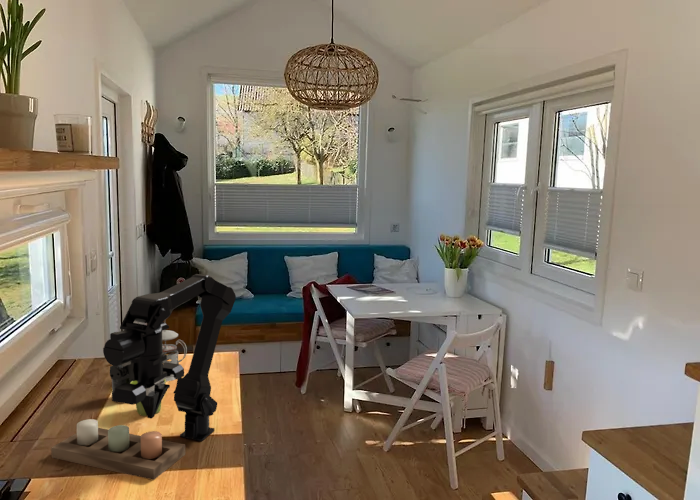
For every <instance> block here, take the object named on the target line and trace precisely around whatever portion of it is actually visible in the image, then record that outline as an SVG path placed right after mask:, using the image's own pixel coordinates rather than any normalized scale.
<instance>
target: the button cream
mask: <svg viewBox="0 0 700 500" xmlns="http://www.w3.org/2000/svg"><path fill="white" fill-rule="evenodd" d="M98 422H99V421H98V419H93V418H89V419H84V420H80V421H79V422H77V423H76V433H77V443H78V444H79V445H81V446H90V445H91V446H92V445H94V444H95V443H96V442H97V441H98V428H99V423H98Z"/></svg>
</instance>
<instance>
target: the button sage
mask: <svg viewBox="0 0 700 500" xmlns="http://www.w3.org/2000/svg"><path fill="white" fill-rule="evenodd" d="M129 434H130V427H129V426H128V425H125V424H120V425H119V424H118V425H114V426H111V427H110V428H108V448H109V451H112V452H113V453H120V452H125V451H126V449H128V448H129V446H130V444H129Z"/></svg>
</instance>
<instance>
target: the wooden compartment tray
mask: <svg viewBox="0 0 700 500" xmlns="http://www.w3.org/2000/svg"><path fill="white" fill-rule="evenodd" d="M108 430H109V428H102V427H98V441H97V442H96V443H94V444H91V446H90V445H89V446H85V445H79V444H78V443H77V432H76V433H74V434H72V435H71V436H69V437H67V438H65V439H64V440H62V441H60V442H58V443H56V444H55V445H53V446H52V447H50V449H51V450H50V451H51V458H53V459H56V460H62V461H66V462H71V463H76V464H79V465H84V466H85V465H86V466H90V467H93V468H98V469H102V470H103V469H104V470H108V471H112V472H117V473H121V474H125V475H130V476H135V477H138V478H144V479H148V480H152V481H154V480H156V479H157V478H158V477H159V476H161V475H162V474H163V473H164V472H166V470H168V469H170V467H172V466H173V465H174V464H175V463H176V462H178V461H180V459H181V458H183V457H184V456H185V455H186V444H185V443H180V442H173V441H170V440H164V439H162V454H161V455H160V456H159V457H157V459H155V460H151V459H145V458H142V457H141V435H139V434H134V433H133V434H132V433H129V444H130V446H129V448H128V449H126V450H124V451H122V453H119V452H112V451H109V448H108Z"/></svg>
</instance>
